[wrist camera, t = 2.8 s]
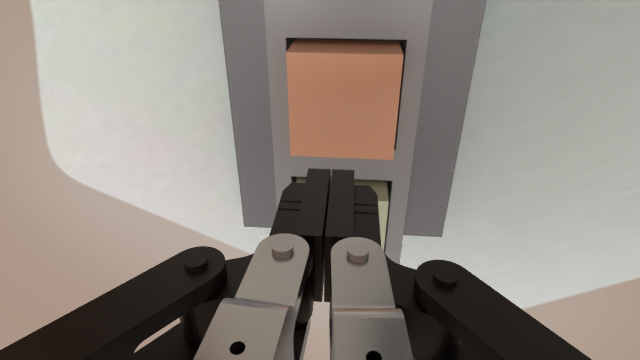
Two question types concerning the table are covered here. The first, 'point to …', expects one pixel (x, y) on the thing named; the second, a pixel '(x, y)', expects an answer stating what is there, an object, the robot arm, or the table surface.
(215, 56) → the table surface
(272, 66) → the console
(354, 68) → the button terracotta
